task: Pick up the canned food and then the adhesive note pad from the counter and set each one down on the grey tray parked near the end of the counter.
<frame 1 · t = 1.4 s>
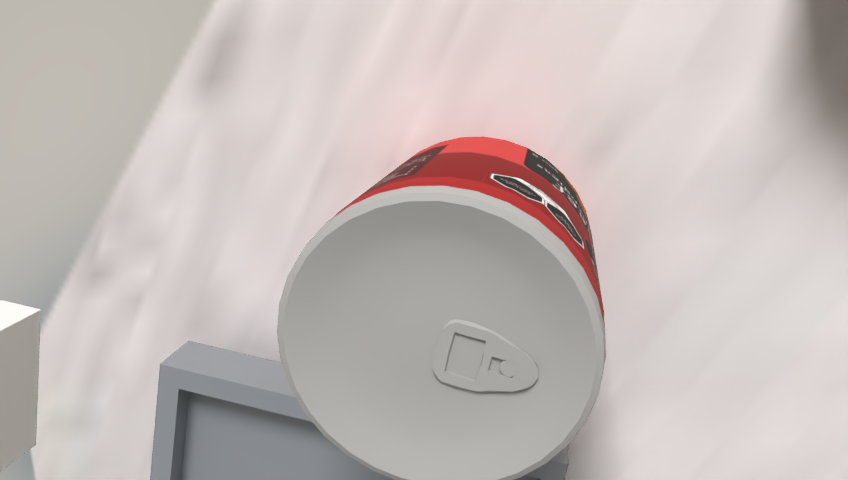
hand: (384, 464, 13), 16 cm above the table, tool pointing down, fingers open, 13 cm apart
canned food: (482, 235, 29), on the table
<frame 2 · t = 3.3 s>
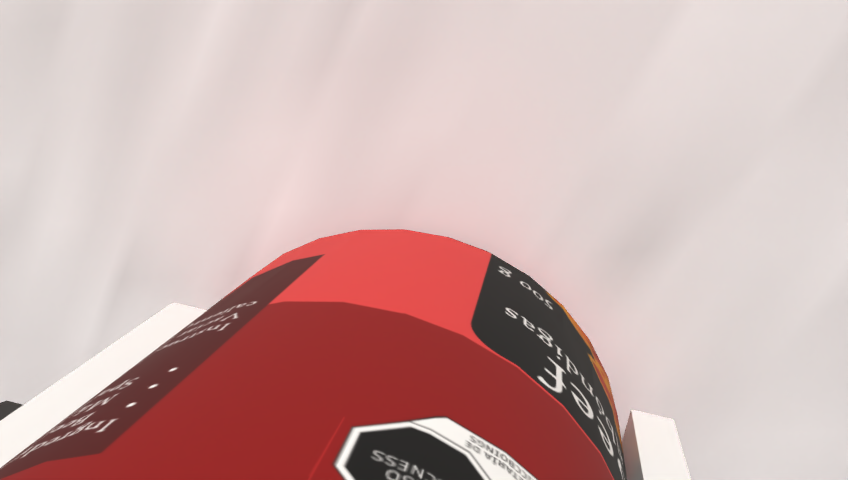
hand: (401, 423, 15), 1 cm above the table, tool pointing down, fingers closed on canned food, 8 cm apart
canned food: (411, 400, 16), on the table, touching gripper
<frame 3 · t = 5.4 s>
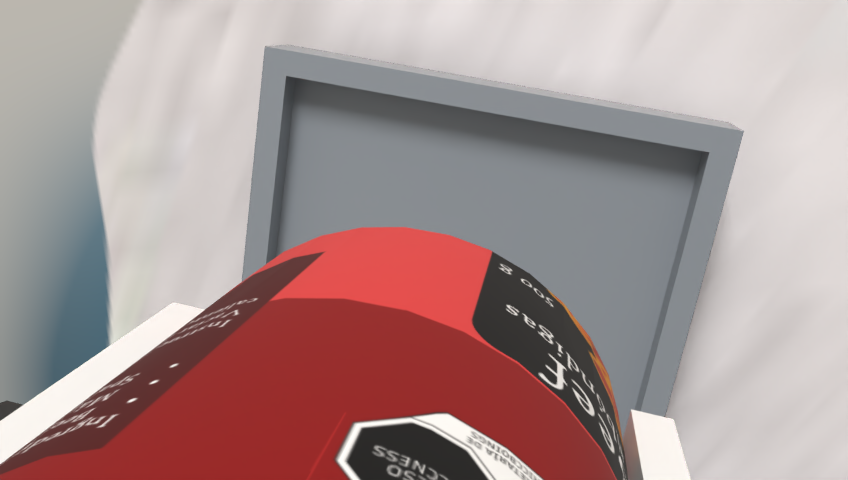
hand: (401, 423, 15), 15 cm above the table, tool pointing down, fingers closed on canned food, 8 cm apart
grey tray: (453, 350, 30), on the table
canned food: (411, 398, 16), point 14 cm above the table, touching gripper
when the fingers open (5 cm above the table, at t = 7.7 s): canned food drops 2 cm, resting on grey tray.
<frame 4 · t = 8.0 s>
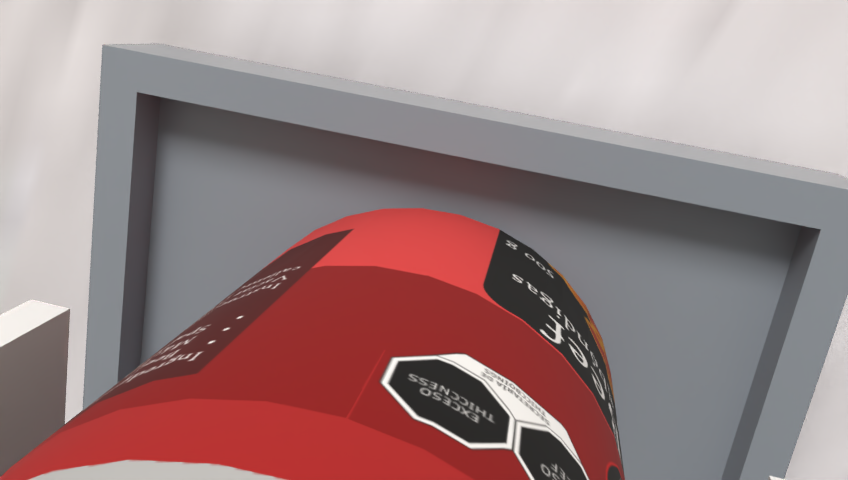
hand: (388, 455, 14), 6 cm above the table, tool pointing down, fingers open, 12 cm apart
canned food: (427, 362, 17), point 2 cm above the table, touching grey tray
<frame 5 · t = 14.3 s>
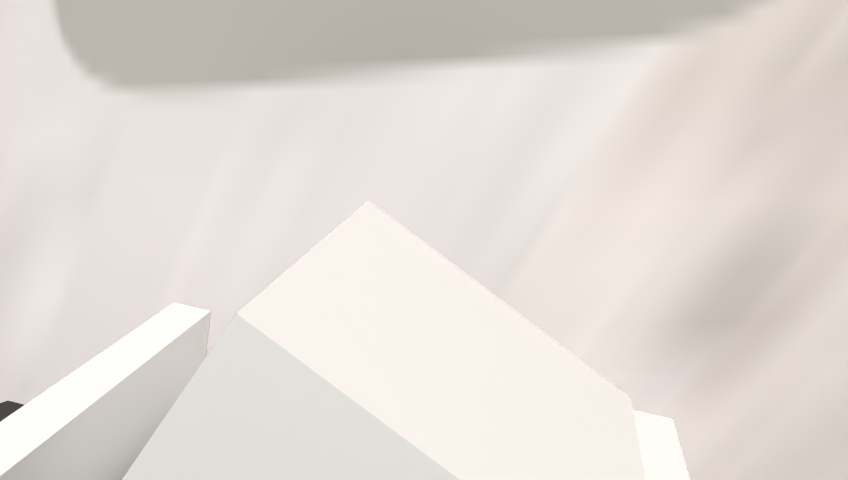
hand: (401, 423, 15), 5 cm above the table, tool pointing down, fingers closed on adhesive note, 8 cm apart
adhesive note: (408, 407, 15), point 4 cm above the table, touching gripper
when the fingers open (4 cm above the table, at t = 20.6 s): adhesive note drops 1 cm, resting on grey tray.
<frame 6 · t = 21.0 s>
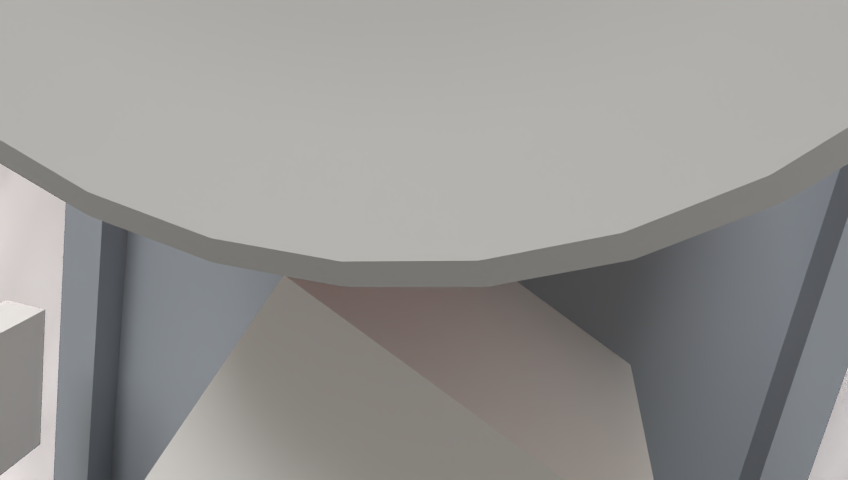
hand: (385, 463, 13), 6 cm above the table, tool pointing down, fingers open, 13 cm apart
adhesive note: (425, 379, 17), point 2 cm above the table, touching grey tray
grey tray: (474, 142, 17), on the table
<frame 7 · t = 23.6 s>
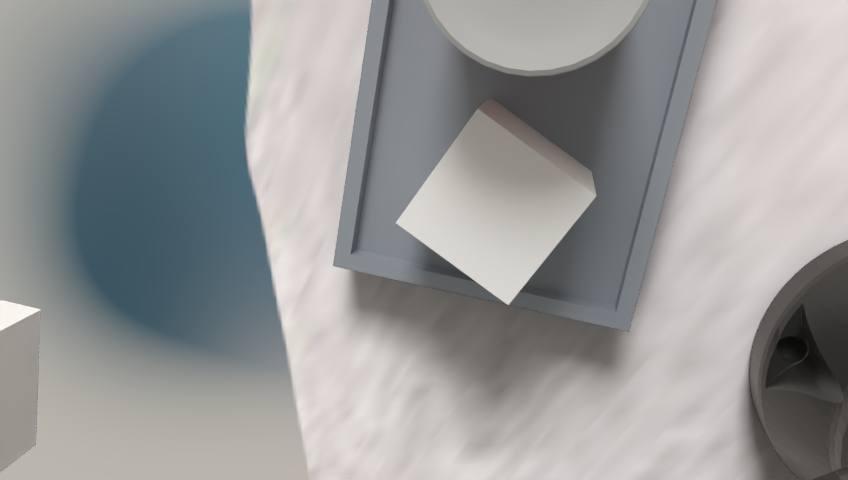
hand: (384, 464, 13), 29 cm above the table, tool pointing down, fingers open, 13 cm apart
adhesive note: (504, 182, 38), point 2 cm above the table, touching grey tray
grey tray: (524, 82, 39), on the table
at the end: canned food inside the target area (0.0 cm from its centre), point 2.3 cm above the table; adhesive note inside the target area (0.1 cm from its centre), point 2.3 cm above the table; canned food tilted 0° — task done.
